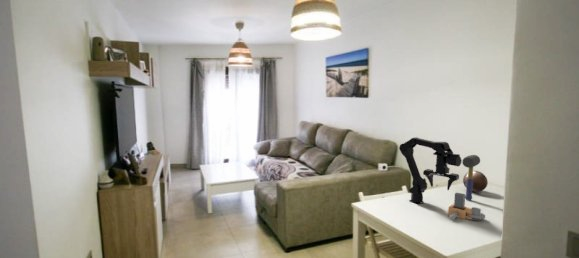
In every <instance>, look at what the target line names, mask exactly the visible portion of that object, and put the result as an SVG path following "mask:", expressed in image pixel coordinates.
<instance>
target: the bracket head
mask: <svg viewBox="0 0 579 258" xmlns="http://www.w3.org/2000/svg"><path fill="white" fill-rule="evenodd" d="M447 211H448V213H447V214H448V216H449V218H450V220H452V221H454V219H456V218H460V219H462V220H463V219H464V220H466V219H467V220H468V219H469V220H472V221H475V222H476V221H477V222H478V221H479V222H480V221H481V220H485V219H486V214H484V213H482V212H481V211H482V209H481V208H479V207H474V206H473V207H468V206H465V207H464V210H461V209H457V208H454V203H452V204H451V205H449V206H448V209H447Z"/></svg>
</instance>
